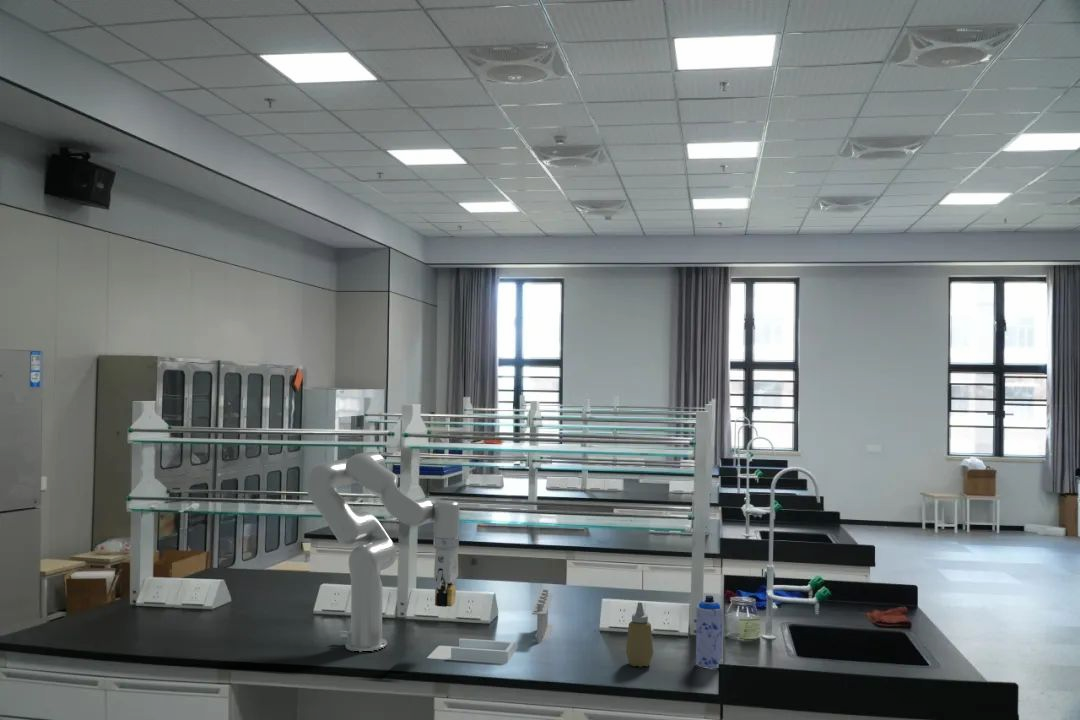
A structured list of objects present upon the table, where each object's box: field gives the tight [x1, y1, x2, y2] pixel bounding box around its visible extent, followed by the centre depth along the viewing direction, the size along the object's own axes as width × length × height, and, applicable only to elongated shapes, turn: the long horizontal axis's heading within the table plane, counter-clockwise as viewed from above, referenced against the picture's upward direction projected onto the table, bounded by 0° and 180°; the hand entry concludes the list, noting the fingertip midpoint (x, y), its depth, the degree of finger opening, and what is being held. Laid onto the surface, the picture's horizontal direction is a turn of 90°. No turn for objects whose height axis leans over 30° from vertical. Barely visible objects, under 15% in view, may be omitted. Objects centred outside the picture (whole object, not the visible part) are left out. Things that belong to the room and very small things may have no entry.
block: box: [434, 584, 457, 607], centre depth 261 cm, size 5×5×5 cm
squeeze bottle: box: [625, 601, 654, 668], centre depth 256 cm, size 8×8×18 cm
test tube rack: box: [531, 588, 554, 644], centre depth 282 cm, size 25×4×13 cm, turn 174°
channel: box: [426, 637, 516, 665], centre depth 259 cm, size 24×12×4 cm, turn 79°
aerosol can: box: [695, 595, 723, 668], centre depth 257 cm, size 8×8×20 cm
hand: (444, 603), depth 261 cm, fingers closed on block, 5 cm apart
